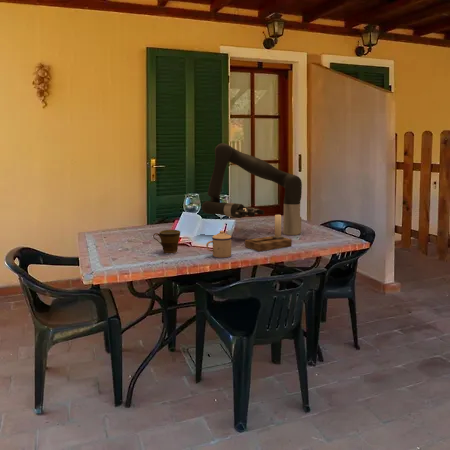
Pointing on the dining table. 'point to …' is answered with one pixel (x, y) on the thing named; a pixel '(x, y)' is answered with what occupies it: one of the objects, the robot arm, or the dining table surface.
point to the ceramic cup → (169, 240)
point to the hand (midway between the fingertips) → (259, 213)
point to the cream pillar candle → (277, 227)
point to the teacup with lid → (221, 245)
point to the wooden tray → (267, 243)
